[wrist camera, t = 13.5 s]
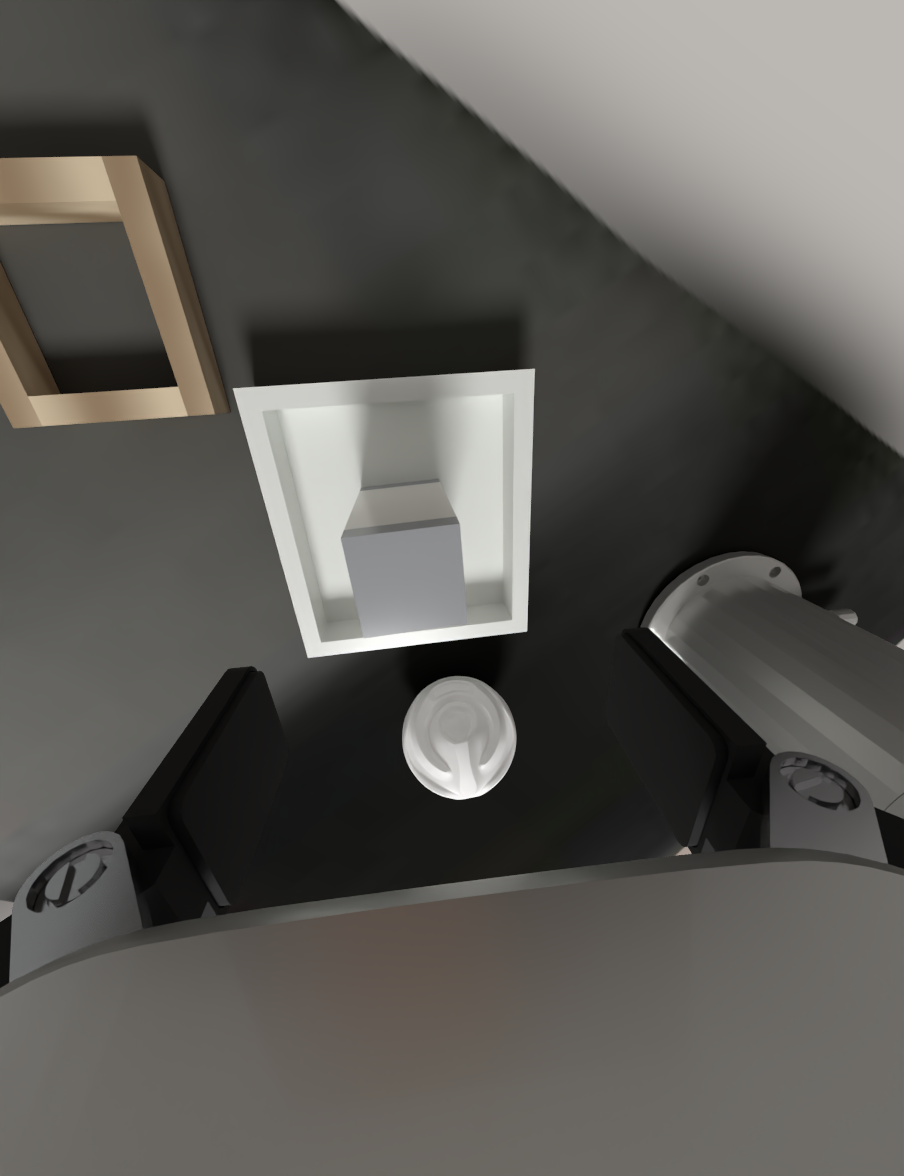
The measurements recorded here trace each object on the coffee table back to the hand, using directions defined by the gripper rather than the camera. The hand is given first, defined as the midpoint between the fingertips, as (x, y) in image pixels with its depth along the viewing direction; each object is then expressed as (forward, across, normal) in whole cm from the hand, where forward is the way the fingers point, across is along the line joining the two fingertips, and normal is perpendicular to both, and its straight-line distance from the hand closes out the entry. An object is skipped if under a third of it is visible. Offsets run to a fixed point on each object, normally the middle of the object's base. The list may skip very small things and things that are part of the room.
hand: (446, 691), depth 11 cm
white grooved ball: (+16, -1, +14) cm, 22 cm away
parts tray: (+16, +1, -1) cm, 16 cm away
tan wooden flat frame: (+15, +14, -12) cm, 24 cm away
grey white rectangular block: (+15, +1, -1) cm, 15 cm away
